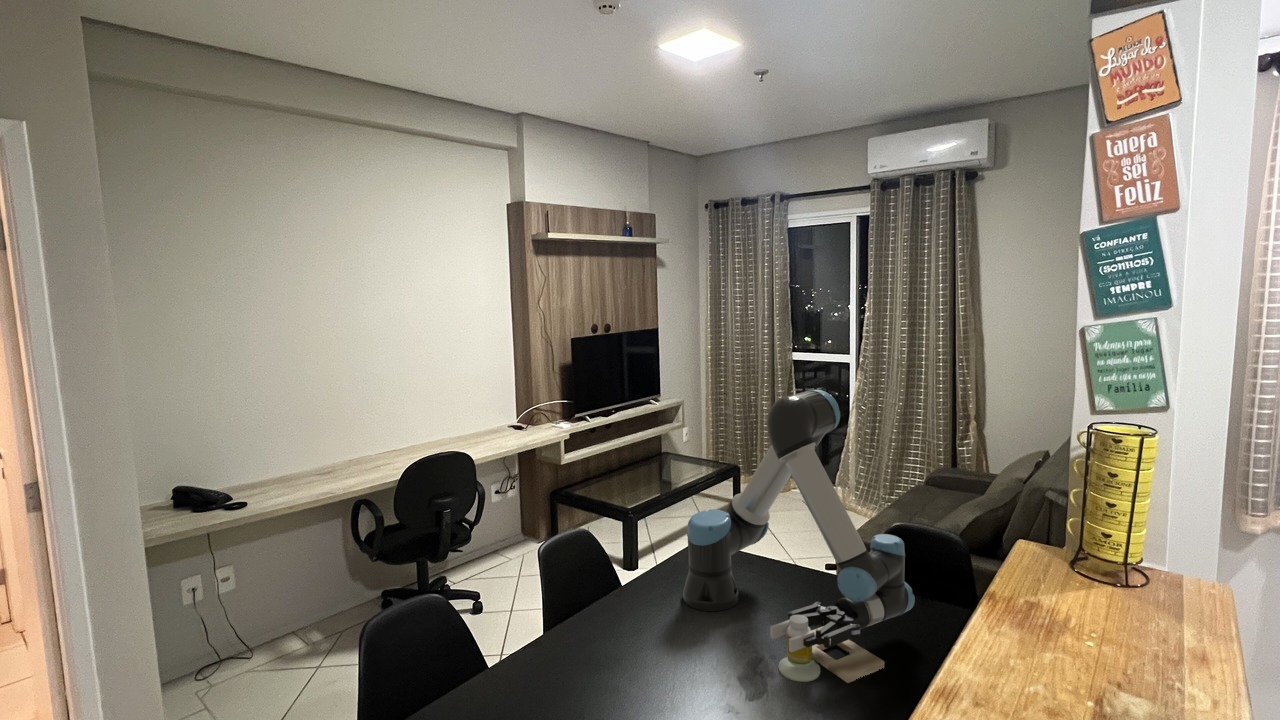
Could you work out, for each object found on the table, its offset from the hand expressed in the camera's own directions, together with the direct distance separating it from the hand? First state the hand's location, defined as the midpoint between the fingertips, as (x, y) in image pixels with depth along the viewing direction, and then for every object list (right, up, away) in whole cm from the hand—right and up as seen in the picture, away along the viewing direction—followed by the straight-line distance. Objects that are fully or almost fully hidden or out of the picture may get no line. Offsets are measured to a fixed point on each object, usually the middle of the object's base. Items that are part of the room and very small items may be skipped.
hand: (780, 639), depth 139 cm
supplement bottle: (+5, -6, +3) cm, 9 cm away
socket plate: (+15, -7, +8) cm, 18 cm away
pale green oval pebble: (+5, -8, +3) cm, 10 cm away
